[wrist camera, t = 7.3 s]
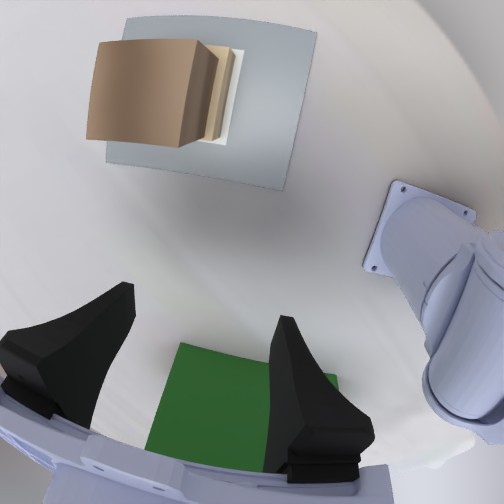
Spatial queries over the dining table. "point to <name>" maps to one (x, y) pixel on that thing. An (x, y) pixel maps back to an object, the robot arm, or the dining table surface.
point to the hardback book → (214, 410)
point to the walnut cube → (151, 91)
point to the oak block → (219, 91)
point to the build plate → (235, 100)
